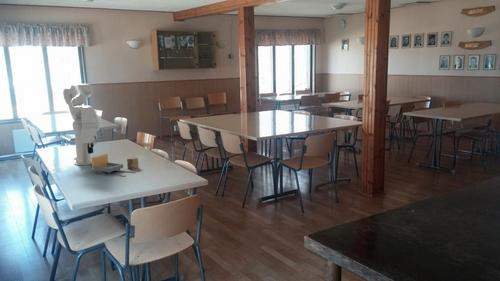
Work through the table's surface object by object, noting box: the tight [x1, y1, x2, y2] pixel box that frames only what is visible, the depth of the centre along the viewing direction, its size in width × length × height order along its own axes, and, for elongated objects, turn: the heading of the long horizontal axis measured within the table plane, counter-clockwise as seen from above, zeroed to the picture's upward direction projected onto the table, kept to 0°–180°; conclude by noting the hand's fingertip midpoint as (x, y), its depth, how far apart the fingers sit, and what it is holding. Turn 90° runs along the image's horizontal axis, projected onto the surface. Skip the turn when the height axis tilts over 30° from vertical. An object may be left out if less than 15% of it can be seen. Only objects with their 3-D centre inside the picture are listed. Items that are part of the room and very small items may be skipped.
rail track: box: [96, 169, 137, 177], centre depth 263 cm, size 23×11×1 cm, turn 65°
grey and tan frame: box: [91, 153, 124, 173], centre depth 264 cm, size 14×13×9 cm
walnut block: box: [126, 156, 139, 171], centre depth 274 cm, size 5×5×7 cm
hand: (90, 153), depth 269 cm, fingers closed
